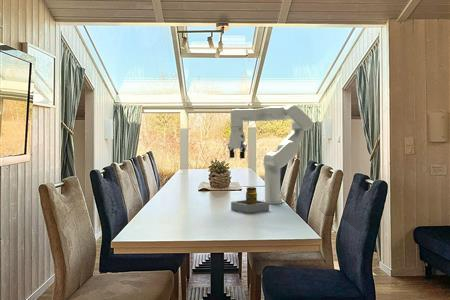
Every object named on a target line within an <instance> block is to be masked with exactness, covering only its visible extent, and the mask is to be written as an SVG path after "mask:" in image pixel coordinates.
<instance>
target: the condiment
mask: <svg viewBox="0 0 450 300" xmlns="http://www.w3.org/2000/svg"><path fill="white" fill-rule="evenodd" d="M257 197H258V193H257V187H255V186H253V187H252V186H249V187H248V186H247V187H246V193H245V200H246V205H251V204H257V200H258V198H257Z"/></svg>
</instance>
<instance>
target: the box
mask: <svg viewBox="0 0 450 300" xmlns="http://www.w3.org/2000/svg"><path fill="white" fill-rule="evenodd" d="M230 210H231V211H236V212H240V213H243V214H255V213H264V212H269V211H270V204H269V202H263V201H262V200H258V199H257V204H251V205H246V199H244V200H243V199H242V200H236V201H231V202H230Z"/></svg>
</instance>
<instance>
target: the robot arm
mask: <svg viewBox="0 0 450 300" xmlns="http://www.w3.org/2000/svg"><path fill="white" fill-rule="evenodd" d="M283 120H284V121H287V120H292V123H291V133H289V134H288V136H287V137H285V139H284V140H282V141H281V142H280V143H279V144H278V146H277V149H276V151H269V152H266V153H265V155H264V157H263V167H264V199H263V200H261V201H263V202H269V205H278V204H282V203H284V201H283V200H282V199H286V197H287V195H285V194H284V195H282V194H281V170H280V169H281V168H283V167H285V166H286V165H287V164H288V163H289V162H291V160H293V159H294V158H295V157H296V156H297V155H298V153H299V149H300V148H299V145H301V143H302V142H303V140H304V137H305V136H304V135H305V131H309V130H311V129H312V127H313V124H314V123H313V121H312V119H311V117H310V116H309V115H307V114H306V113H305V112H304V111H303V110H302V109H301V108H300V107H298V106H296V105H292V104H291V105H283V106H282V105H281V106H280V105H279V106H268V107H267V106H266V107H262V108H256V109H255V108H254V109H253V108H245V109H240V108H234V109H231V110H230V134H229V142H228V143H227V144H226V145H227V148H228V151H229V159H234V158H235V149H238V150H239V159H240V160H242V159H245V158H246V157H245V153H246V150H247V146H248V144H247V143H246V135H245V132H244V123H247V122H272V121H273V122H274V121H283Z"/></svg>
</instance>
